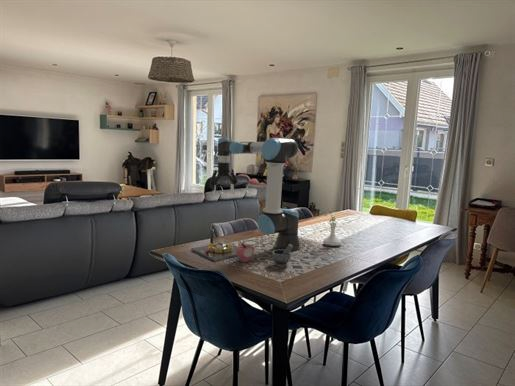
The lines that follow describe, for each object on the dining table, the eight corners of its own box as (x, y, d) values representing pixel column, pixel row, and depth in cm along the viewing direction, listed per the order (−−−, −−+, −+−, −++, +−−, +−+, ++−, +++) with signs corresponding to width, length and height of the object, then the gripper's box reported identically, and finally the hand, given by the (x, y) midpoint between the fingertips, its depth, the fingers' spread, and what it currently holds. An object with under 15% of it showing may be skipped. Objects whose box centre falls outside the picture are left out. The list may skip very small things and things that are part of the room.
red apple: (239, 265, 197) (239, 246, 195) (233, 259, 204) (233, 241, 203) (256, 263, 200) (256, 244, 199) (250, 258, 208) (250, 240, 207)
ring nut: (236, 250, 217) (237, 233, 215) (217, 254, 209) (217, 237, 207) (220, 243, 229) (220, 228, 228) (201, 247, 221) (201, 231, 220)
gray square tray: (250, 253, 216) (250, 245, 216) (214, 261, 201) (214, 252, 200) (225, 243, 235) (226, 236, 234) (191, 250, 219) (191, 242, 219)
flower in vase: (329, 241, 246) (331, 202, 243) (345, 245, 238) (347, 205, 235) (317, 244, 237) (319, 205, 234) (332, 249, 229) (335, 207, 226)
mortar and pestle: (268, 265, 197) (268, 242, 195) (277, 260, 205) (278, 239, 203) (287, 270, 191) (288, 246, 189) (296, 265, 199) (297, 242, 197)
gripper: (236, 161, 260) (236, 192, 263) (203, 162, 245) (203, 195, 248) (242, 162, 254) (242, 194, 257) (209, 162, 239) (209, 196, 242)
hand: (223, 194), depth 252 cm, fingers open, 13 cm apart
